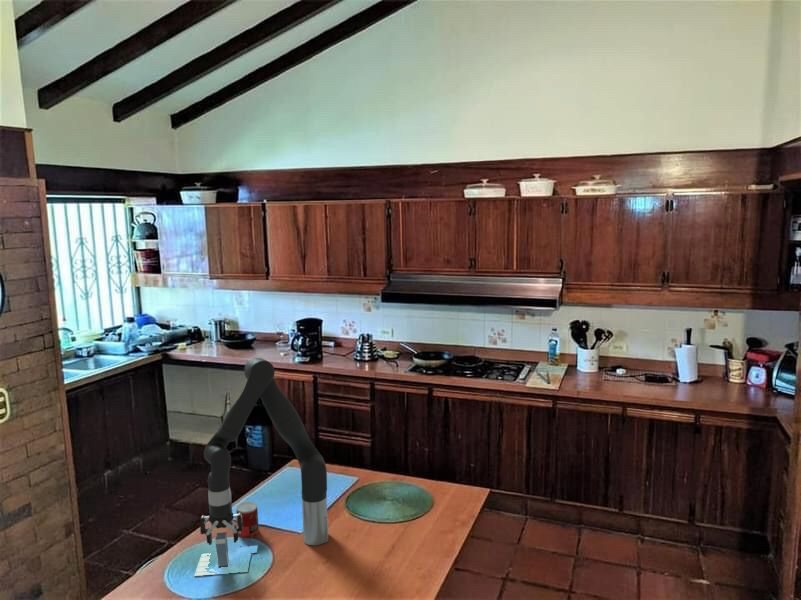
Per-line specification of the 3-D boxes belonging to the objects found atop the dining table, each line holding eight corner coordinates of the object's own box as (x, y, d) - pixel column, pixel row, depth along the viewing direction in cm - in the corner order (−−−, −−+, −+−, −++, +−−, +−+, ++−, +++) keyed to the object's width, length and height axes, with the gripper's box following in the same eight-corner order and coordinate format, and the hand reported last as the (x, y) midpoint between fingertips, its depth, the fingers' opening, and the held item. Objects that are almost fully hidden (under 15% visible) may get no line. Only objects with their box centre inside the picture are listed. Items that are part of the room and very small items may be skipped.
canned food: (253, 539, 228) (252, 512, 226) (234, 537, 230) (232, 510, 228) (262, 528, 235) (260, 502, 234) (243, 526, 237) (241, 500, 235)
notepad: (252, 550, 221) (252, 549, 221) (248, 572, 208) (247, 571, 208) (201, 554, 219) (201, 553, 218) (194, 577, 206) (194, 575, 206)
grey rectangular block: (229, 560, 213) (226, 532, 210) (227, 567, 210) (224, 538, 207) (219, 561, 213) (216, 532, 210) (218, 568, 210) (215, 539, 206)
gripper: (242, 493, 214) (245, 535, 216) (201, 496, 212) (204, 538, 215) (239, 503, 206) (242, 547, 209) (196, 506, 205) (199, 550, 207)
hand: (222, 542), depth 212 cm, fingers open, 8 cm apart
